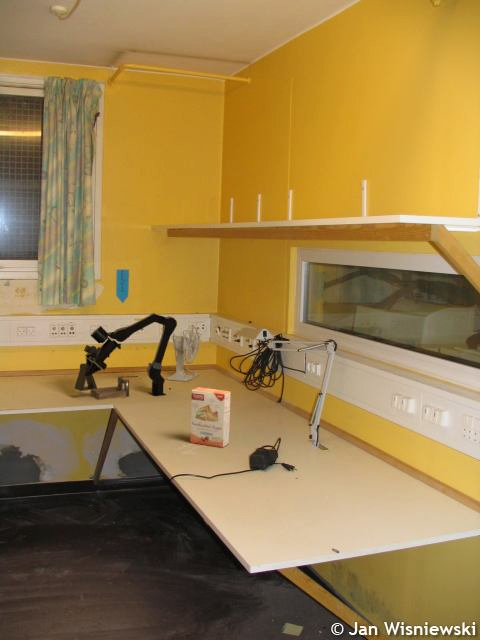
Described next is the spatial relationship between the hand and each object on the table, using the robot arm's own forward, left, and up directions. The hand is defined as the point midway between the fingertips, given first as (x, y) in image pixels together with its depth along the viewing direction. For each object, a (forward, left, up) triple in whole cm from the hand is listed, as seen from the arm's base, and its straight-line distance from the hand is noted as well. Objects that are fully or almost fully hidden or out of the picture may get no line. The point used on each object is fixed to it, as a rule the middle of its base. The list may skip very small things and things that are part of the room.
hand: (83, 374), depth 338 cm
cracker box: (-93, -16, -12) cm, 95 cm away
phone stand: (0, -1, -7) cm, 7 cm away
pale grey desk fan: (+27, -67, -12) cm, 73 cm away
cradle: (-1, -12, -11) cm, 17 cm away
